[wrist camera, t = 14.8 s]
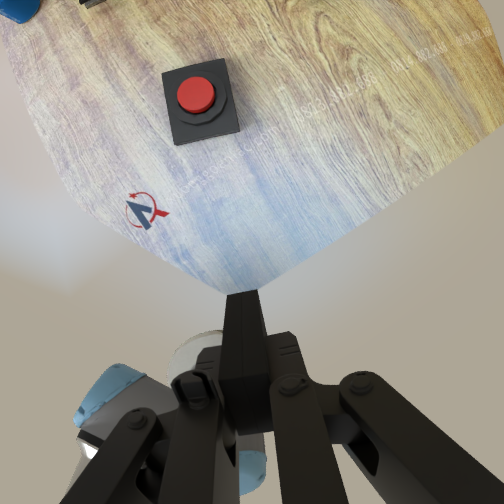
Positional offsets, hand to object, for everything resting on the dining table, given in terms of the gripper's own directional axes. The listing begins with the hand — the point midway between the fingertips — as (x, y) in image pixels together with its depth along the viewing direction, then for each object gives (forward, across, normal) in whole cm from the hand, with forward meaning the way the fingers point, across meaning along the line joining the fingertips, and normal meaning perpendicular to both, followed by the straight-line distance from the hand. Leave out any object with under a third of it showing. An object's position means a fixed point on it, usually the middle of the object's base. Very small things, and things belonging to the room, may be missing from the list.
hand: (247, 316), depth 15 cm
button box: (+29, +2, -18) cm, 35 cm away
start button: (+26, +2, -18) cm, 32 cm away
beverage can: (+30, +33, -53) cm, 69 cm away
